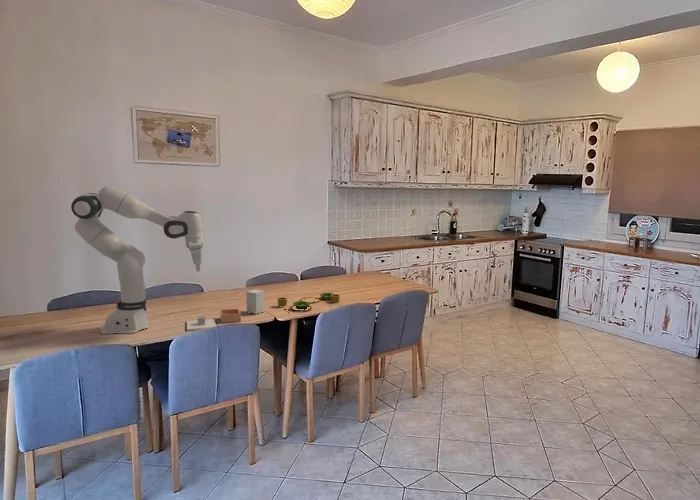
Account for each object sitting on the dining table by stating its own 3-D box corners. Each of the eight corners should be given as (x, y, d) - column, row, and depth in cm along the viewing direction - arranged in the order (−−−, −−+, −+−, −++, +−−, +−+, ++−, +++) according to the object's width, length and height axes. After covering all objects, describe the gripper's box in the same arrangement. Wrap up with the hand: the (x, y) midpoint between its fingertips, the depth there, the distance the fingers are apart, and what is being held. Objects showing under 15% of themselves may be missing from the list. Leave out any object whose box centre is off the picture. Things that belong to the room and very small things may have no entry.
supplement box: (264, 312, 266) (264, 290, 264) (255, 315, 260) (255, 293, 258) (255, 310, 270) (254, 288, 268) (246, 313, 264) (246, 291, 262)
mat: (184, 332, 228) (184, 331, 228) (185, 322, 243) (185, 321, 243) (218, 329, 233) (218, 329, 233) (216, 320, 248) (216, 319, 248)
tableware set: (287, 315, 263) (287, 304, 262) (270, 303, 287) (270, 293, 286) (350, 307, 284) (350, 297, 283) (330, 296, 307) (330, 287, 306)
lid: (187, 330, 229) (186, 322, 229) (187, 322, 242) (186, 314, 242) (216, 328, 234) (216, 320, 233) (214, 320, 247) (214, 312, 246)
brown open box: (221, 324, 242) (221, 315, 242) (220, 318, 252) (219, 309, 251) (240, 322, 246) (240, 313, 245) (238, 317, 255) (238, 308, 254)
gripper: (188, 240, 242) (191, 266, 245) (188, 246, 223) (192, 274, 226) (200, 239, 244) (203, 264, 247) (202, 244, 225) (205, 272, 228)
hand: (198, 269), depth 236 cm, fingers open, 8 cm apart
